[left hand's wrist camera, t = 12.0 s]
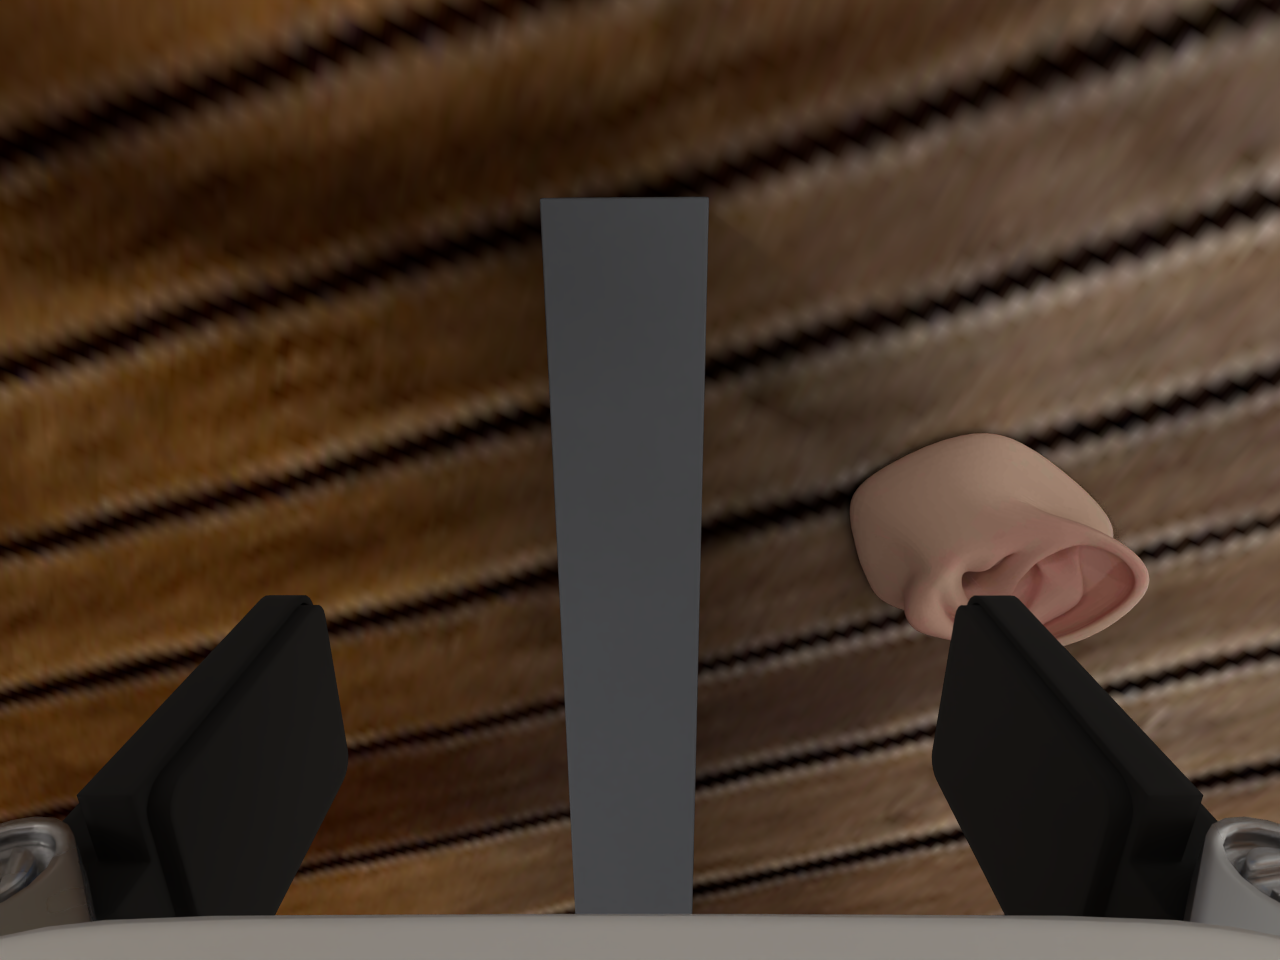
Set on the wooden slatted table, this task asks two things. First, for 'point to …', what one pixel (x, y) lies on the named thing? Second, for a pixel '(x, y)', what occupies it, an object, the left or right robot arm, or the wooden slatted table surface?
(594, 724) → the beam
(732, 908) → the wooden slatted table surface
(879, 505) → the anatomical model
